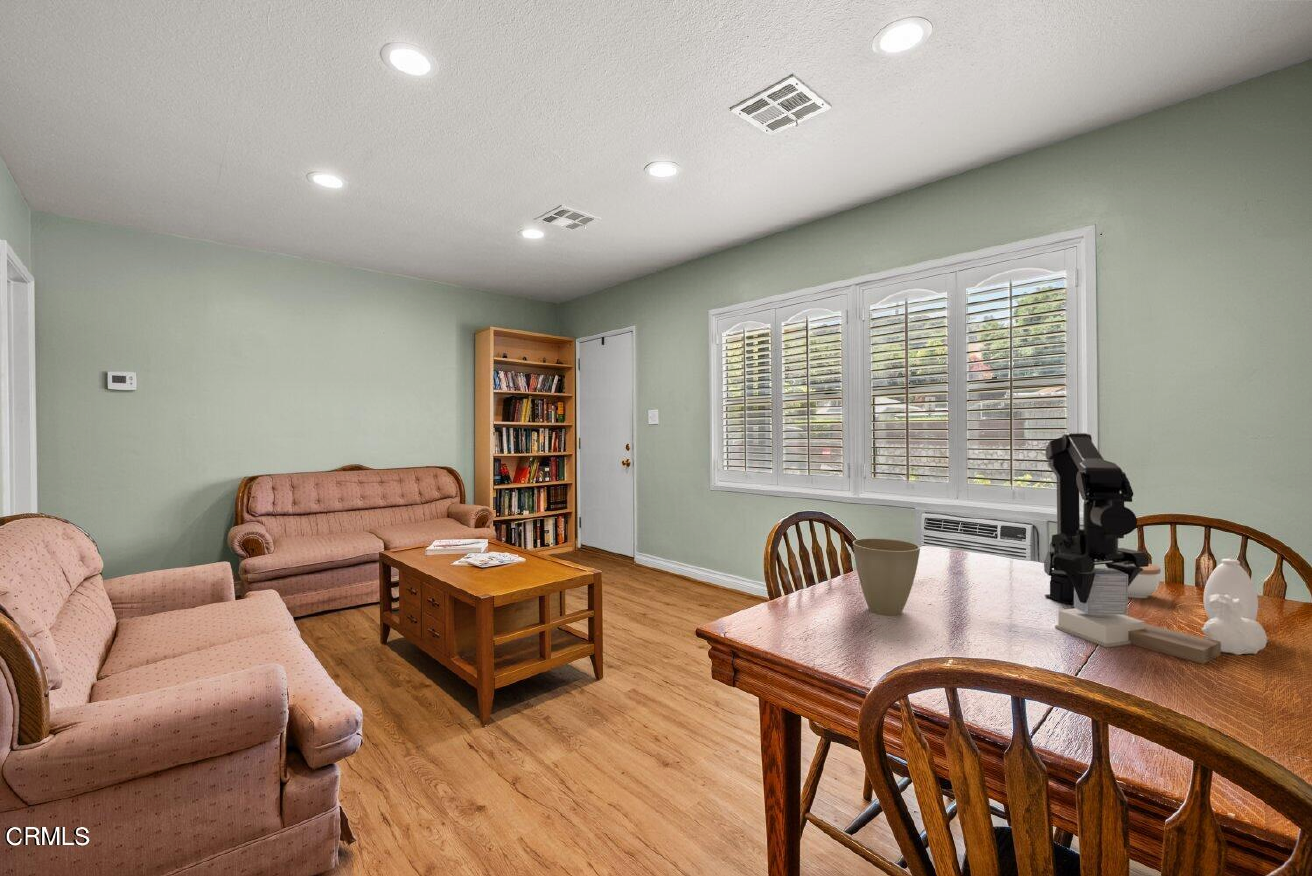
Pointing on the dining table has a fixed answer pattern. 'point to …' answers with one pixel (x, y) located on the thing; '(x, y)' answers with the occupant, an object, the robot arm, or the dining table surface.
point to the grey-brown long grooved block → (1175, 643)
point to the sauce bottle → (1232, 587)
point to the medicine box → (1106, 593)
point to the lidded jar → (1145, 582)
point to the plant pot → (886, 572)
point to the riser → (1098, 626)
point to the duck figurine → (1233, 627)
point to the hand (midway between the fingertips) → (1100, 600)
